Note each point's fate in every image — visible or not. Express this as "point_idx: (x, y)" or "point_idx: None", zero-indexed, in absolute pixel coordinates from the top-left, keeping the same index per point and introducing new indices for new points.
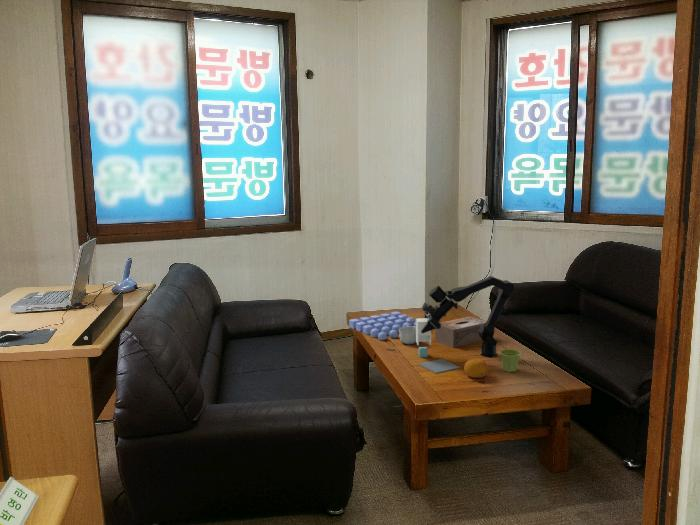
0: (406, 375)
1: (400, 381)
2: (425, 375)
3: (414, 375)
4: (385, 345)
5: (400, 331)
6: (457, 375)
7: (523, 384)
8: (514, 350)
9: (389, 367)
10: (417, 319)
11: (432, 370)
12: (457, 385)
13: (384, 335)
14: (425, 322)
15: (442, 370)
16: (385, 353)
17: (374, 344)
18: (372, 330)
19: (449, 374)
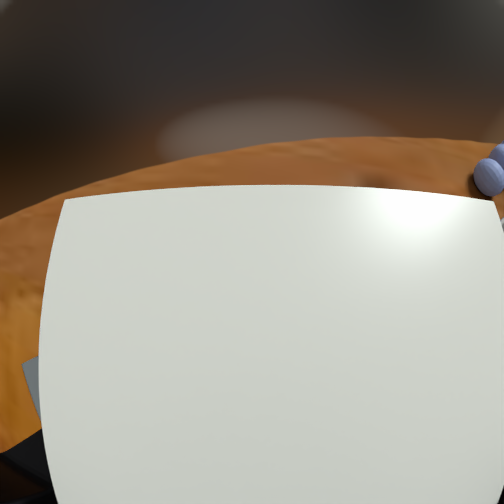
0: (31, 240)
1: (7, 218)
2: (16, 315)
3: (24, 271)
4: (428, 181)
5: (500, 220)
6: (16, 437)
7: None
8: None
9: (118, 177)
10: (415, 221)
11: (37, 359)
12: None
13: (488, 177)
14: (62, 465)
15: (37, 403)
16: (318, 165)
17: (426, 145)
18: (502, 145)
19: (20, 414)
